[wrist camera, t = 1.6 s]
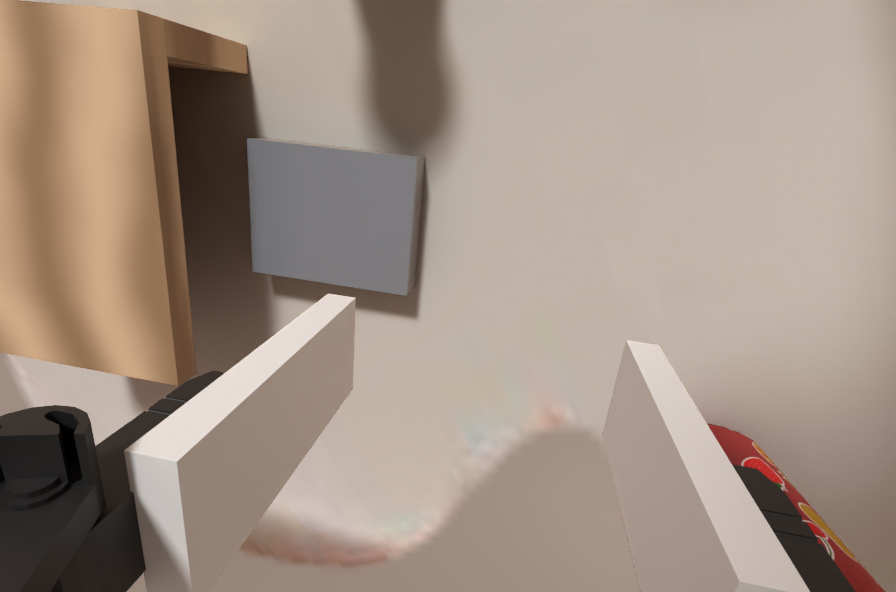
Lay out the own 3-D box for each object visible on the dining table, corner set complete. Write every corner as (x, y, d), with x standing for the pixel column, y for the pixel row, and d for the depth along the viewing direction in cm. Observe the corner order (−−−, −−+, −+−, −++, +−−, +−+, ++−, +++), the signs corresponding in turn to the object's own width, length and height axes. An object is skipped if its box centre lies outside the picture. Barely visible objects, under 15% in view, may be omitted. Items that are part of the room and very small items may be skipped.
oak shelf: (246, 45, 27) (137, 10, 19) (258, 329, 33) (178, 386, 26) (63, 29, 28) (-104, -10, 21) (107, 304, 34) (-11, 350, 27)
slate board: (426, 156, 28) (417, 158, 25) (416, 283, 30) (406, 296, 28) (269, 138, 29) (246, 138, 27) (273, 261, 32) (252, 271, 29)
